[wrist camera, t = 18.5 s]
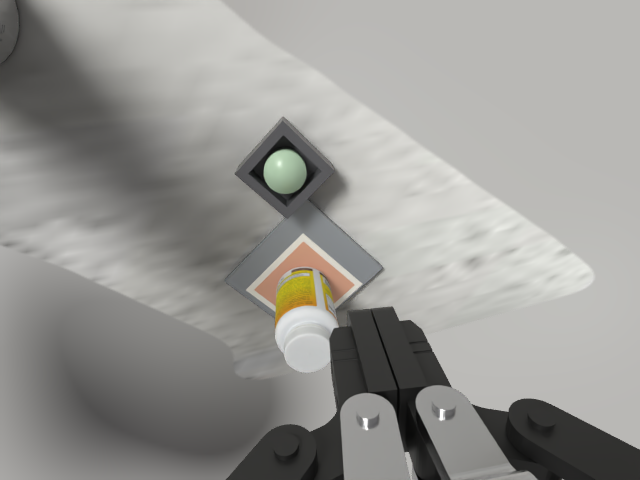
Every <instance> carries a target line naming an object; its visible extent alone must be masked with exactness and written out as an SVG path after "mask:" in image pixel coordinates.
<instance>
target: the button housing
mask: <svg viewBox="0 0 640 480" xmlns="http://www.w3.org/2000/svg"><path fill="white" fill-rule="evenodd" d="M282 147H287V148H292V149H294V150H296V151H297V152H299V153H300V154H301V156H302V157H303V159H304V162H305V166H306V172H307V174H306V180H305V182H304V184H303V185H302V187H301V188H300V189H298V190H297V191H295V192H293V193H289V194H282V193H278V192H275V191H274V190H272V189H271V188H270V187H269V186H268V185H267V183H266V181H265V178H264V166H265V162H266V159H267V157H268V156H269V154H270V153H271V152H273V151H274V150H276V149H278V148H282ZM334 171H335V170H334V168H333V166H332V164H331V162H329V161H328V160H327V159H326V158H325V157H324V156H323V155H322V154H321V153H320V152H319V151H318V150H317V149H316V148H315V147H314V146H313V145H312V144H311V143H310V142H309V141H308V140H307V139H306V138H305V137H304V136H303V135H302V134H301V133H300V132H299V131H298V130H297V129H295V128H294V127H293V126H292V125H291V124H290V123H289V122H288V121H287V120H286V119H285V118H284V117H282V118H281V119H280V120H279V121H278V123H277V124H276V125H275V126H274V127H273V128H272V129H271V130H270V131H269V133H268V134H267V135H266V136H265V137H264V138H263V139H262V140H261V142H260V143H259V144H258V145H257V146H256V147H255V148H254V149H253V150H252V152H251V153H250V154H249V155H248V156H247V157H246V158H245V159H244V161H243V162H242V163H241V164H240V165H239V166H238V168H237V170H236V172H235V175H236V176H237V177H239V178H240V179H241V180H242V181H243V182H245V183H246V184H247V185H248V186H249V187H250V188H252V189H253V190H254V191H255V192H256V193H257V194H259V195H260V196H261V197H262V198H263V199H264V200H266V201H267V202H268V203H269V204H270V205H271V206H273V207H274V208H275V209H276V210H277V211H278V212H280V213H281V214H282V215H283V216H284V217H285V218H287V219H288V218H289V217H290V216H291V215H292V214H293V213H294V212H295V211H296V210H297V209H298V208H299V207H300V206H301V205H302V204H303V203H304V202H305V201H306V200H307V199H308V198H309V197H310V196H311V195H312V194H313V193H314V192H315V191H316V190H317V189H318V188H319V187H320V186H321V185H322V184H323V183H324V182H325V181H326V180H327V179H328V178H329V177H330V175H331V174H332V173H333V172H334Z"/></svg>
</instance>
